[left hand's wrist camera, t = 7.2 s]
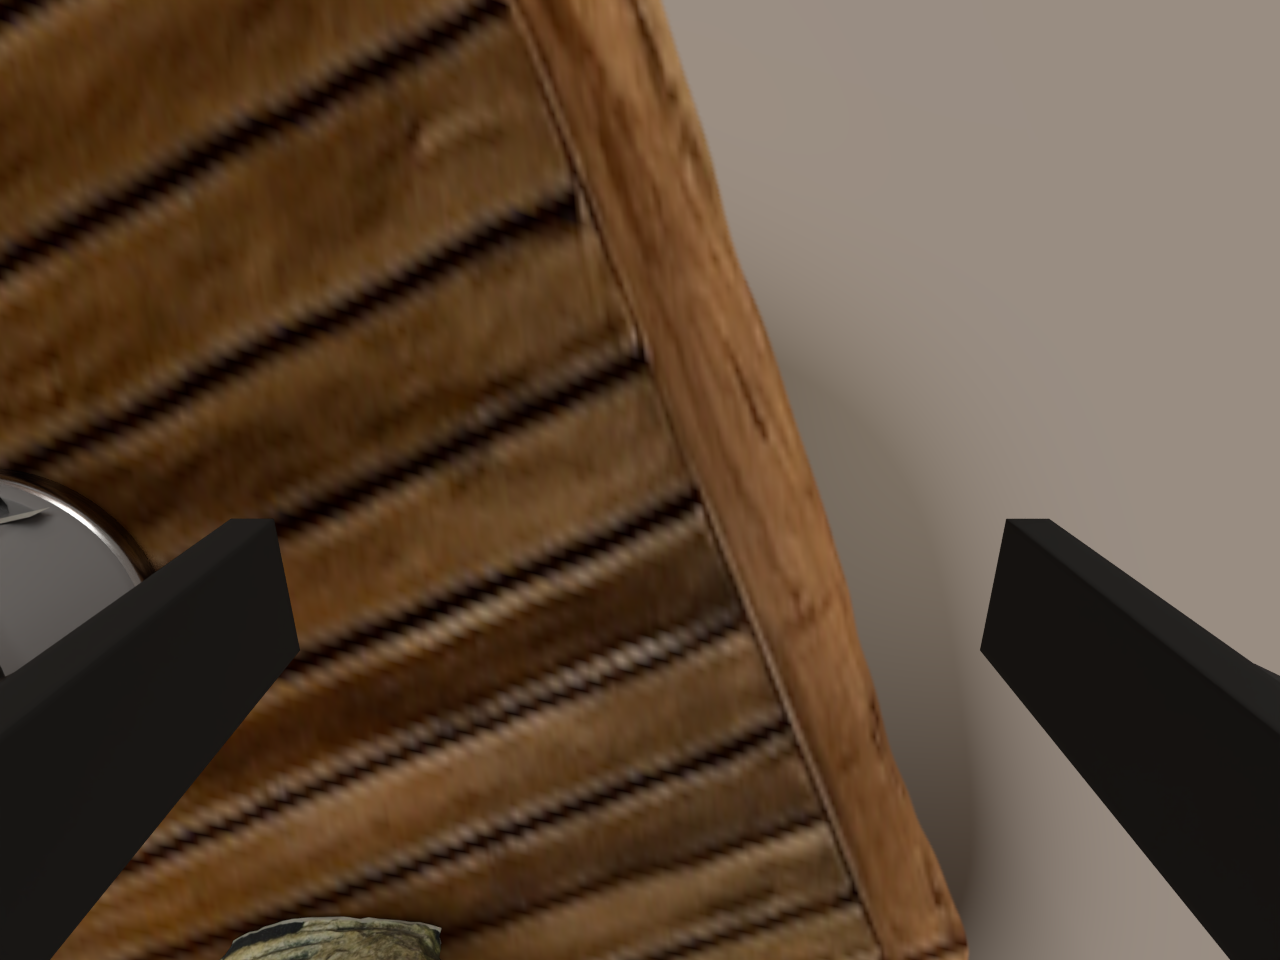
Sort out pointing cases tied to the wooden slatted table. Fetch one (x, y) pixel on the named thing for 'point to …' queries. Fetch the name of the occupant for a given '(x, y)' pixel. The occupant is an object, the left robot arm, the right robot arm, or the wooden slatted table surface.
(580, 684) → the wooden slatted table surface
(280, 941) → the fossil
